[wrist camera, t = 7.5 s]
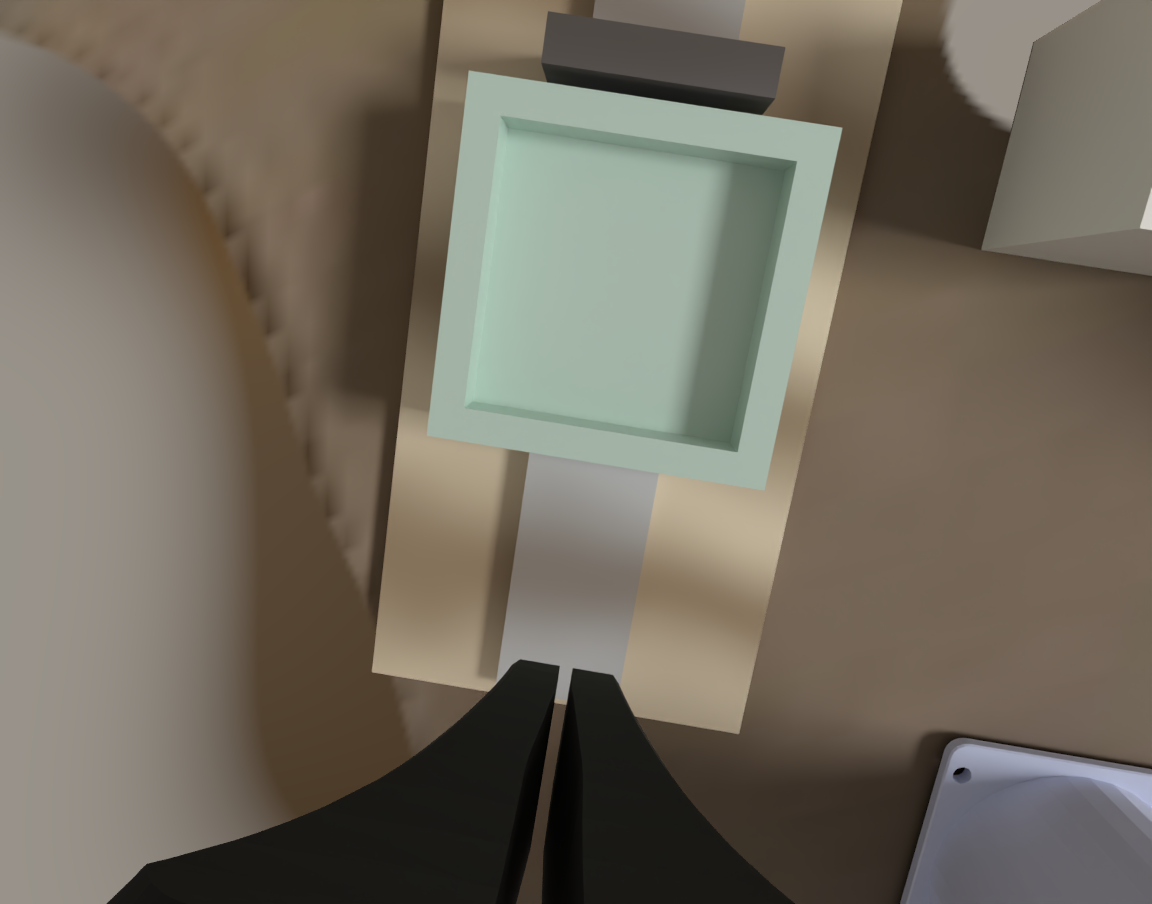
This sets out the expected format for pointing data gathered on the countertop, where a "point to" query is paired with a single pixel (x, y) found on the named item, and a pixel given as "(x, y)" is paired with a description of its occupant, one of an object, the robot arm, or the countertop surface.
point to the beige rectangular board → (596, 491)
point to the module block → (1082, 146)
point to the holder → (626, 278)
